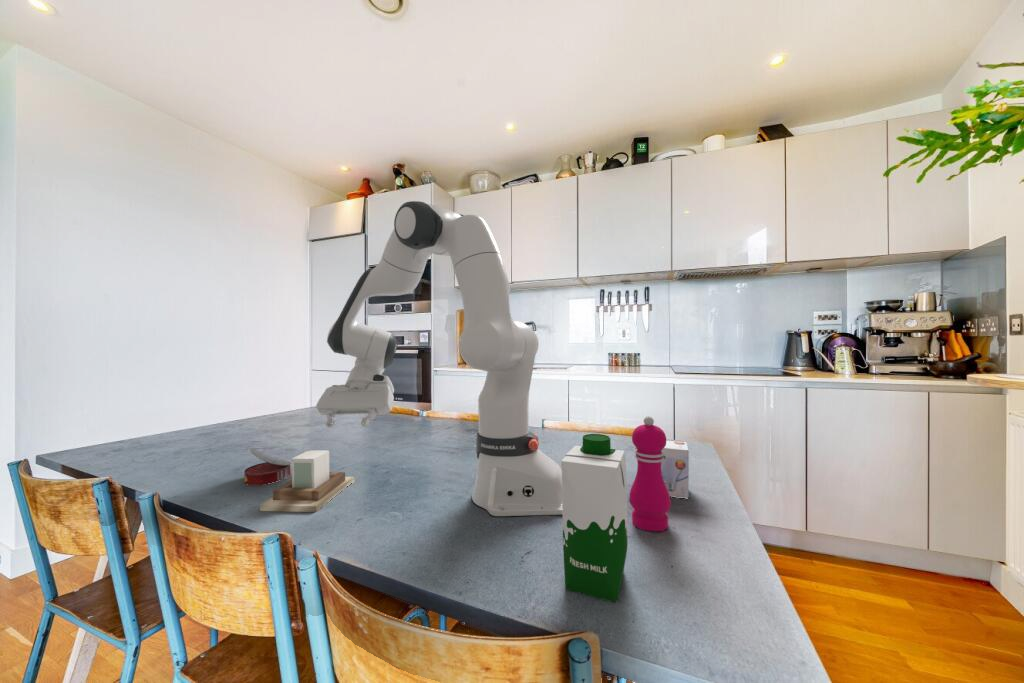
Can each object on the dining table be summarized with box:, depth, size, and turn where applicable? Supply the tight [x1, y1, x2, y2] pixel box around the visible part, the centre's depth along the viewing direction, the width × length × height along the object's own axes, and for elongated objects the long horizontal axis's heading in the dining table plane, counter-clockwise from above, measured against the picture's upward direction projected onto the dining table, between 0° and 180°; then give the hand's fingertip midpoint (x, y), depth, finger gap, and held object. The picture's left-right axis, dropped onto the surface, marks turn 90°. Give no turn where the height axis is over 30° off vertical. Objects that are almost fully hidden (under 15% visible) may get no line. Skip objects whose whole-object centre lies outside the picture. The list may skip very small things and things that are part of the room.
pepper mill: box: [628, 416, 672, 532], centre depth 69 cm, size 7×7×20 cm
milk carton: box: [561, 433, 628, 604], centre depth 53 cm, size 9×9×20 cm
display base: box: [259, 471, 355, 513], centre depth 83 cm, size 12×16×3 cm
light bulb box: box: [661, 440, 690, 498], centre depth 83 cm, size 11×7×11 cm, turn 68°
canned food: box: [243, 446, 291, 486], centre depth 94 cm, size 11×10×10 cm
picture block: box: [291, 449, 330, 488], centre depth 83 cm, size 5×6×8 cm
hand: (346, 425), depth 97 cm, fingers open, 8 cm apart
